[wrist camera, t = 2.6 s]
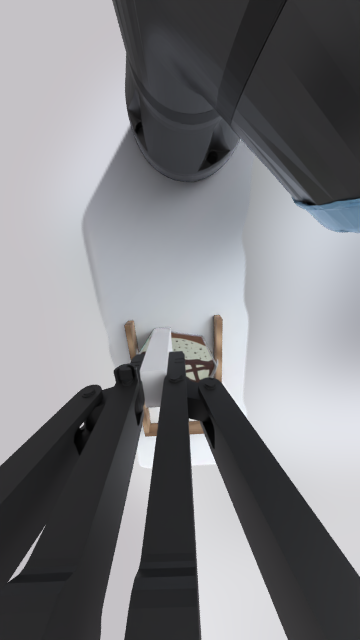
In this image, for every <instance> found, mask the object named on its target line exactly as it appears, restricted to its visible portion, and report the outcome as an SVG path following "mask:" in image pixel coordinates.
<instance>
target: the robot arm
mask: <svg viewBox="0 0 360 640" xmlns="http://www.w3.org/2000/svg"><path fill="white" fill-rule="evenodd" d="M112 1H113V5H114V8H115V12H116V16H117V19H118V23H119V27H120V31H121V35H122V38H123V42H124V45H125V49H126V78H125V96H126V104H127V111H128V116H129V120H130V124H131V127H132V130H133V133H134V135H135V138H136V141H137V143H138V145H139V147H140V149H141V151H142V153H143V154H144V156H145V157H146V159H147V160H148V161H149V163H150V164H151V165H152V166H153V167H154V168H155V169H156V170H158V171H159V172H160V173H162V174H163V175H165V176H167V177H169V178H171V179H174V180H178V181H186V182H189V181H197V180H200V179H203V178H206V177H208V176H210V175H212V174H213V173H215V172H216V171H217V170H218V169H220V168H221V167H222V166H223V165H224V164H225V163H226V161H227V160H228V159H229V158H230V156H231V155H232V153H233V152H234V150H235V148H236V146H237V144H238V142H239V140H240V139H241V140H242V141H243V142H244V143H245V144H246V145H247V146H248V147H249V149H250V150H251V151H252V152H253V153H254V154H255V155H256V156H257V157H258V158H259V159H260V160H261V162H262V163H263V164H264V165H265V166H266V167H267V168H268V169H269V170H270V171H271V173H272V174H273V175H274V176H275V177H276V178H277V179H278V180H279V182H280V183H281V184H282V185H283V186H284V187H285V189H286V190H287V191H288V192H289V193H290V194H291V195H292V199H293V201H294V203H295V204H296V205H297V206H299V207H301V208H303V209H306V210H307V211H308V212H309V213H310V214H311V215H312V216H313V217H314V218H315V219H316V220H318V222H319V223H320V224H321V225H323V226H324V227H326V228H328V229H330V230H332V231H336V232H355V233H360V0H112ZM114 375H115V379H116V384H115V386H114V387H111V388H108V389H104V390H102V389H101V387H100V386H99V385H90V386H87V387H85V388H83V389H82V390H80V391H79V392H78V393H77V394H76V395H75V396H74V397H73V398H72V399H71V400H69V401H68V403H66V404H65V405H64V406H63V407H62V408H61V409H60V410H59V411H58V412H57V413H56V414H55V415H54V416H53V417H52V418H51V419H49V420H48V421H47V422H46V423H45V424H44V425H43V426H42V427H41V428H40V429H39V430H38V431H37V432H36V433H35V434H34V435H33V436H32V437H31V438H30V439H28V440H27V442H25V443H24V444H23V445H22V446H21V447H20V448H19V449H18V450H17V451H16V452H15V453H14V454H13V455H12V456H10V457H9V458H8V459H7V460H6V461H5V462H4V463H3V464H2V465H1V466H0V640H100V635H101V616H102V608H103V603H104V598H105V593H106V589H107V584H108V580H109V575H110V570H111V566H112V561H113V556H114V552H115V547H116V543H117V538H118V533H119V529H120V524H121V519H122V515H123V510H124V506H125V501H126V496H127V491H128V487H129V482H130V477H131V473H132V469H133V464H134V459H135V455H136V450H137V446H138V441H139V436H140V432H141V427H142V422H143V418H144V408H143V406H144V402H145V406H146V408H148V407H160V413H159V421H158V429H157V437H156V445H155V452H154V460H153V468H152V476H151V484H150V492H149V500H148V507H147V515H146V523H145V531H144V539H143V547H142V555H141V562H140V566H139V570H138V572H137V574H136V577H135V579H134V583H133V588H132V593H131V598H130V604H129V610H128V617H127V625H126V632H125V639H124V640H201V628H200V627H201V626H200V610H199V593H198V575H197V559H196V540H195V526H194V525H195V522H194V505H193V487H192V469H191V452H190V434H189V418H190V419H194V420H198V421H200V424H201V427H202V429H203V432H204V434H205V437H206V439H207V442H208V444H209V446H210V449H211V451H212V454H213V456H214V459H215V461H216V464H217V466H218V469H219V471H220V474H221V476H222V478H223V481H224V483H225V486H226V488H227V491H228V493H229V496H230V498H231V501H232V503H233V506H234V508H235V510H236V513H237V515H238V518H239V520H240V523H241V525H242V528H243V530H244V533H245V535H246V538H247V540H248V542H249V545H250V547H251V550H252V552H253V555H254V557H255V560H256V562H257V565H258V567H259V569H260V572H261V574H262V577H263V579H264V582H265V584H266V587H267V589H268V592H269V594H270V596H271V599H272V602H273V604H274V606H275V609H276V611H277V614H278V616H279V619H280V621H281V624H282V626H283V629H284V631H285V634H286V636H287V638H288V640H360V577H359V575H358V574H357V572H356V571H355V570H354V568H353V567H352V565H351V564H350V563H349V561H348V560H347V558H346V557H345V556H344V554H343V553H342V551H341V550H340V549H339V547H338V546H337V544H336V543H335V542H334V540H333V539H332V537H331V536H330V535H329V533H328V532H327V530H326V529H325V527H324V526H323V525H322V523H321V522H320V520H319V519H318V518H317V516H316V515H315V513H314V512H313V511H312V509H311V508H310V507H309V505H308V504H307V502H306V501H305V500H304V498H303V497H302V495H301V494H300V493H299V491H298V490H297V488H296V487H295V485H294V484H293V483H292V481H291V480H290V478H289V477H288V476H287V474H286V473H285V471H284V470H283V469H282V467H281V466H280V465H279V463H278V462H277V460H276V459H275V457H274V456H273V455H272V453H271V452H270V450H269V449H268V448H267V446H266V445H265V444H264V442H263V441H262V439H261V438H260V436H259V435H258V434H257V432H256V431H255V430H254V428H253V427H252V425H251V424H250V422H249V421H248V420H247V418H246V417H245V415H244V414H243V413H242V411H241V410H240V408H239V407H238V405H237V404H236V403H235V401H234V400H233V398H232V397H231V396H230V394H229V393H228V391H227V390H226V389H225V387H224V386H223V384H222V383H221V382H220V381H219V380H218V379H215V378H211V377H207V378H203V379H201V380H200V381H199V383H197V382H193V381H191V380H189V379H188V378H187V377H186V368H185V354H184V353H183V352H182V351H175V352H173V350H172V340H171V329H170V327H167V328H154V331H153V334H152V336H151V339H150V342H149V345H148V348H147V351H146V354H137V355H136V356H134V357H133V358H132V361H131V363H130V364H124V365H121V366H119V367H117V368H116V369H115V370H114ZM83 422H84V425H83V427H81V428H79V427H80V426H81V424H82V423H83ZM46 523H47V524H46ZM45 525H46V526H45ZM44 526H45V528H44ZM43 528H44V530H43ZM42 530H43V532H42V534H41V536H40V538H39V540H38V542H37V544H36V546H35V548H34V550H33V552H32V554H31V556H30V558H29V560H28V562H27V564H26V565H25V567H24V569H23V570H22V571H21V573H20V574H19V575H18V576H16V577H15V578H13V579H12V580H11V581H9V580H10V578H11V577H12V575H13V573H14V572H15V570H16V569H17V567H18V566H19V564H20V562H21V561H22V560H23V558H24V557H25V555H26V554H27V552H28V551H29V549H30V548H31V546H32V544H33V543H34V542H35V540H36V538H37V537H38V536H39V534H40V533H41V531H42ZM8 581H9V582H8Z"/></svg>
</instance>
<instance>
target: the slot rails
mask: <svg viewBox="0 0 360 640" xmlns="http://www.w3.org/2000/svg"><path fill="white" fill-rule="evenodd" d="M125 331H126V337H127V342H128V347H129V353H130V358H131V361H132V358H133V357H134V356H136V349H138V344H137V338H136V332H135V326H134V321H128V322H127V323H126V324H125ZM138 354H139V350H138ZM217 359H218V367H217V370H216V372H215V374H214V378H215V379H218V380H219V381H220V382H221V383H222V318H221V316H220V315H214V360H215V362H216V361H217ZM143 408H144V418H143V427H144V432H145V437H146V436H157V429H158V423H152V424H151V422H150V416H149V410H148V408H146V406H145V402H144V406H143ZM189 434H204V432H203V429H202V427H201V424H200V421H190V422H189Z"/></svg>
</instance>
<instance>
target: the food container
mask: <svg viewBox="0 0 360 640" xmlns="http://www.w3.org/2000/svg"><path fill="white" fill-rule="evenodd" d="M153 331H154V330H153ZM152 334H153V332H152V333H151V335H150V336H149V338H148V340H147V341H146V343H145V344H144V346H143V347H142V349H141V351H140V352H139V354H146V351H147V348H148V345H149V342H150V339H151V336H152ZM171 340H172V350H173V352H175V351H182V352H183V353H184V354H185V368H186V377H187V378H188V379H189V380H191V381H193V382H197V383H199V381H200V380H201V379H203V378H207V377H211V378H212V377H213V376H214V374H215V372H216V370H217V367H218V359H217V361H216V362H215V360H214V358H213V356H212V354H211V352H210V350H209V348H208V346H207V344H206V342H205V340H204V338H203V336H200V335H192V334H185V333H178V332H171ZM137 354H138V349H136V355H137Z"/></svg>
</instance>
